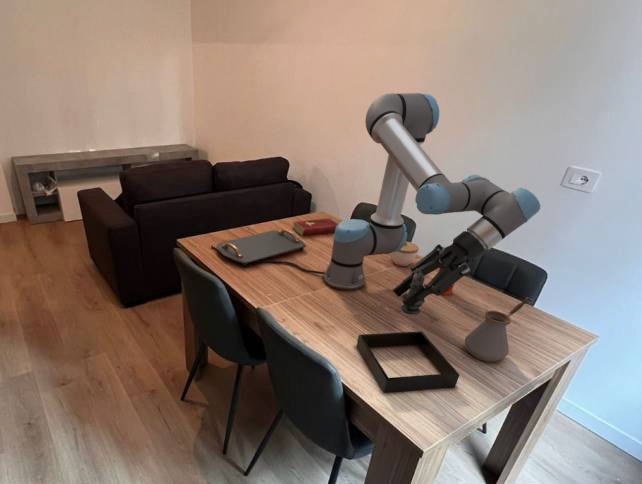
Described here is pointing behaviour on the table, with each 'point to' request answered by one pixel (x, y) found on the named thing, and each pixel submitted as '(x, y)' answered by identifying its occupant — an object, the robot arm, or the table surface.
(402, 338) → the black square frame
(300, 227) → the hardcover book
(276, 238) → the serving tray
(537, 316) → the table surface
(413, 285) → the chess piece
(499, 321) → the coffee pot
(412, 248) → the trinket box
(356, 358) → the table surface
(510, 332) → the table surface
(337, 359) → the table surface
